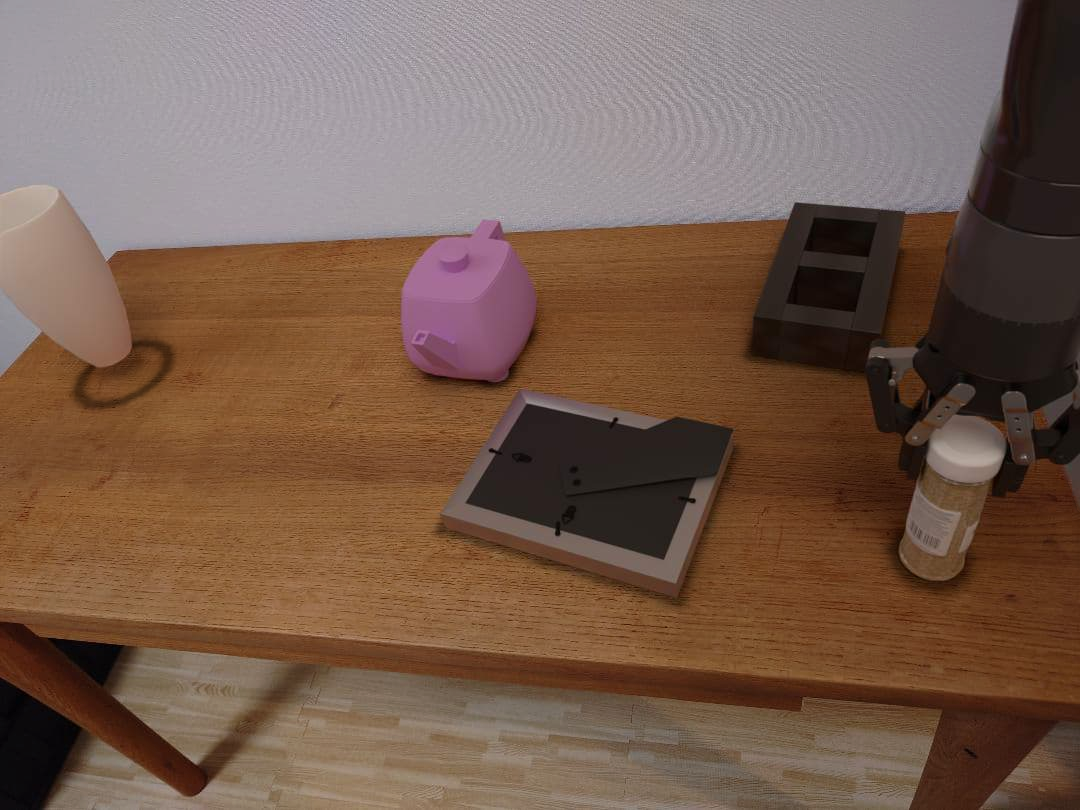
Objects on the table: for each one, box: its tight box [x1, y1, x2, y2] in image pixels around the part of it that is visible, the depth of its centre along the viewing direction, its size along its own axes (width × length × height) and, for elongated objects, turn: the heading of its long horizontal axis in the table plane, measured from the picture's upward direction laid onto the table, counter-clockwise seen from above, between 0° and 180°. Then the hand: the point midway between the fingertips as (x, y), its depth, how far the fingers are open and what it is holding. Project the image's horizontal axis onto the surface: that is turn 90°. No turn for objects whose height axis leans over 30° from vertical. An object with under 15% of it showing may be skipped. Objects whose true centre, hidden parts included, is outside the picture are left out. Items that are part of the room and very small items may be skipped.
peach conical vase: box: [0, 184, 133, 368], centre depth 85 cm, size 10×10×22 cm
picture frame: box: [439, 388, 734, 599], centre depth 69 cm, size 16×3×21 cm
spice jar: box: [898, 414, 1007, 582], centre depth 56 cm, size 5×5×14 cm
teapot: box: [400, 219, 538, 383], centre depth 81 cm, size 20×12×13 cm, turn 161°
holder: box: [751, 201, 907, 374], centre depth 81 cm, size 11×20×5 cm, turn 157°
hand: (955, 478), depth 54 cm, fingers closed on spice jar, 4 cm apart
